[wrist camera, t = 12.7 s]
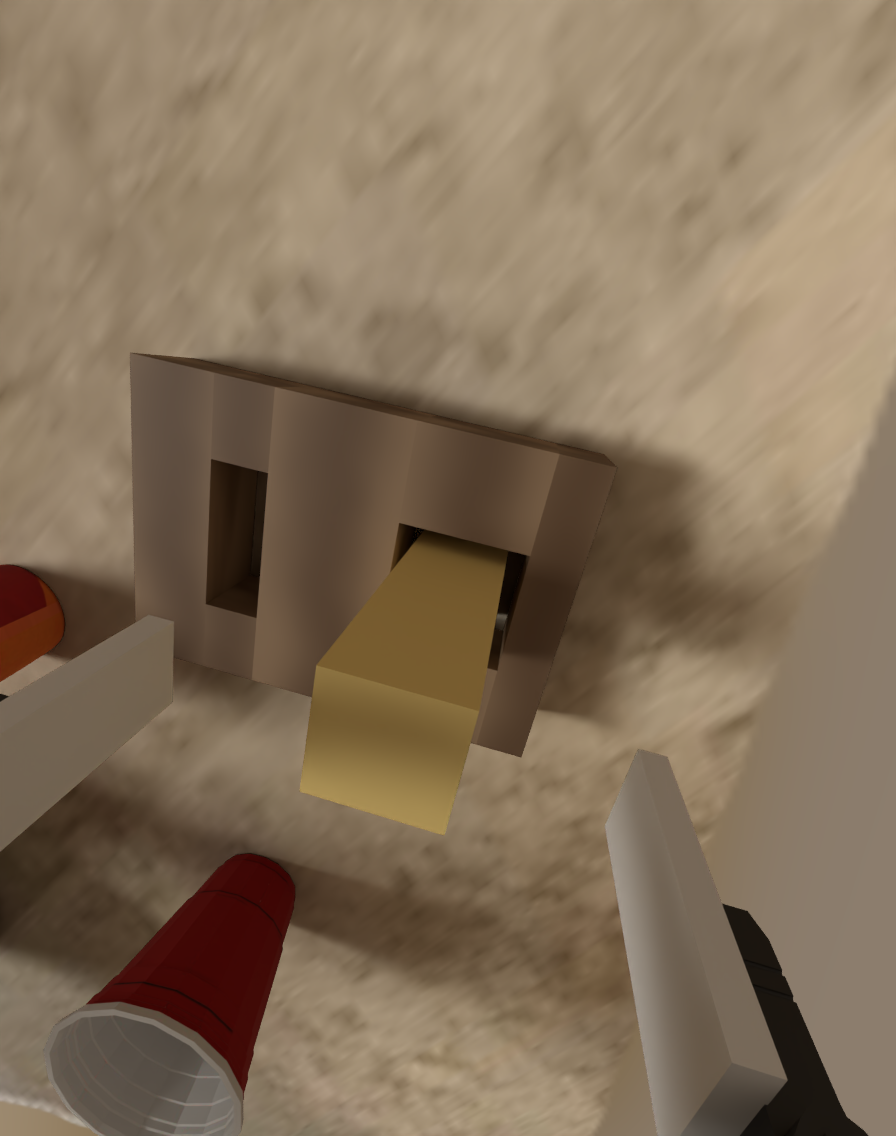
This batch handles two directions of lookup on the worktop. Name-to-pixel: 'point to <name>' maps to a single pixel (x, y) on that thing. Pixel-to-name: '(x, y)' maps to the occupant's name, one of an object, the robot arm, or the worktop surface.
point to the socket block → (341, 523)
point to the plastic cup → (180, 1014)
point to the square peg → (407, 685)
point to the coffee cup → (26, 619)
